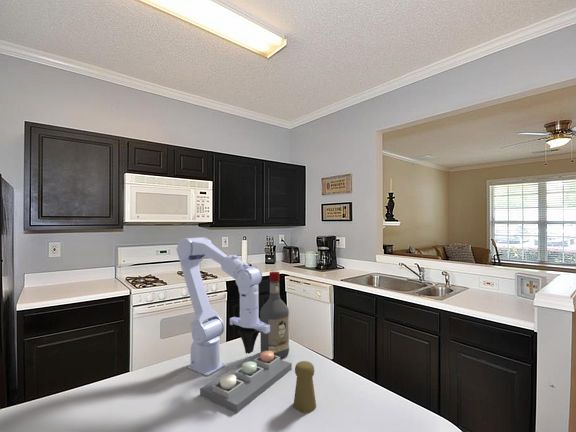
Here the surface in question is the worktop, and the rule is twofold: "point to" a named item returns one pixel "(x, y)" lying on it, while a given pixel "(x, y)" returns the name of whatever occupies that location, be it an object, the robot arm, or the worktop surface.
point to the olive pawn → (304, 387)
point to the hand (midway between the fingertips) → (249, 351)
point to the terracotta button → (267, 356)
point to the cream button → (228, 381)
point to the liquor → (275, 321)
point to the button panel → (246, 383)
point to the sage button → (249, 367)
